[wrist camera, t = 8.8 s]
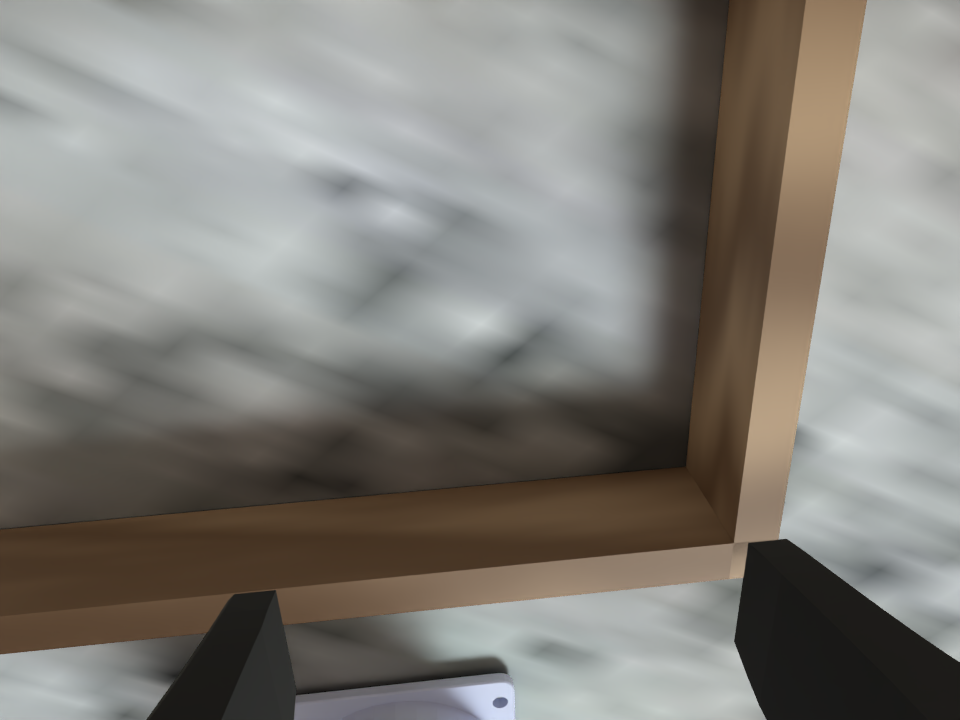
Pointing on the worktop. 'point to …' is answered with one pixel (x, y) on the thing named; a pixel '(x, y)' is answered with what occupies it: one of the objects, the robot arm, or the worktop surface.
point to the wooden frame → (542, 503)
